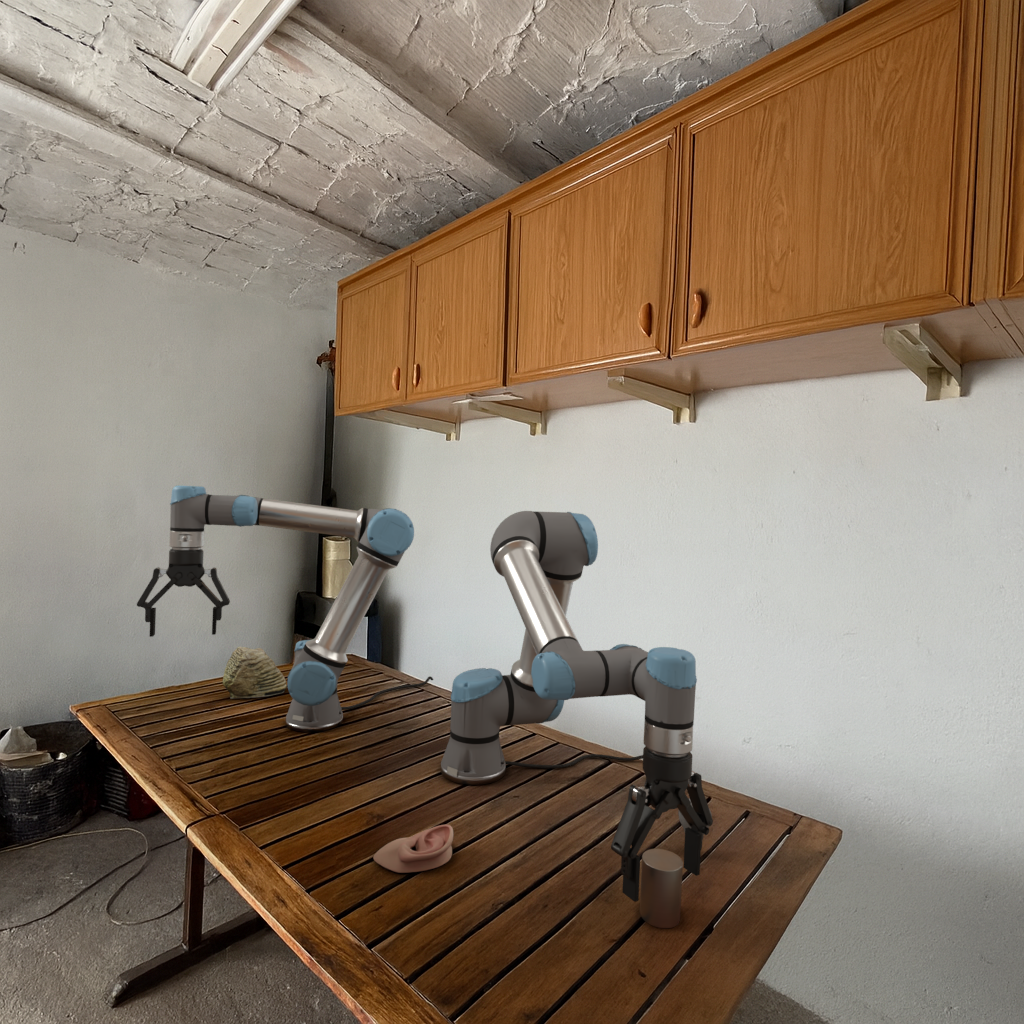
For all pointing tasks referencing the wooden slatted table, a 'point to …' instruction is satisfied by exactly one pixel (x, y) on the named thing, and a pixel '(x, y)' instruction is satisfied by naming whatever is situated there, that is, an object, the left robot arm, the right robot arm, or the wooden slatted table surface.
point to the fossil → (252, 674)
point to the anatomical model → (417, 851)
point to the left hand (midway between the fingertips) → (183, 634)
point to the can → (661, 888)
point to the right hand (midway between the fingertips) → (662, 883)
